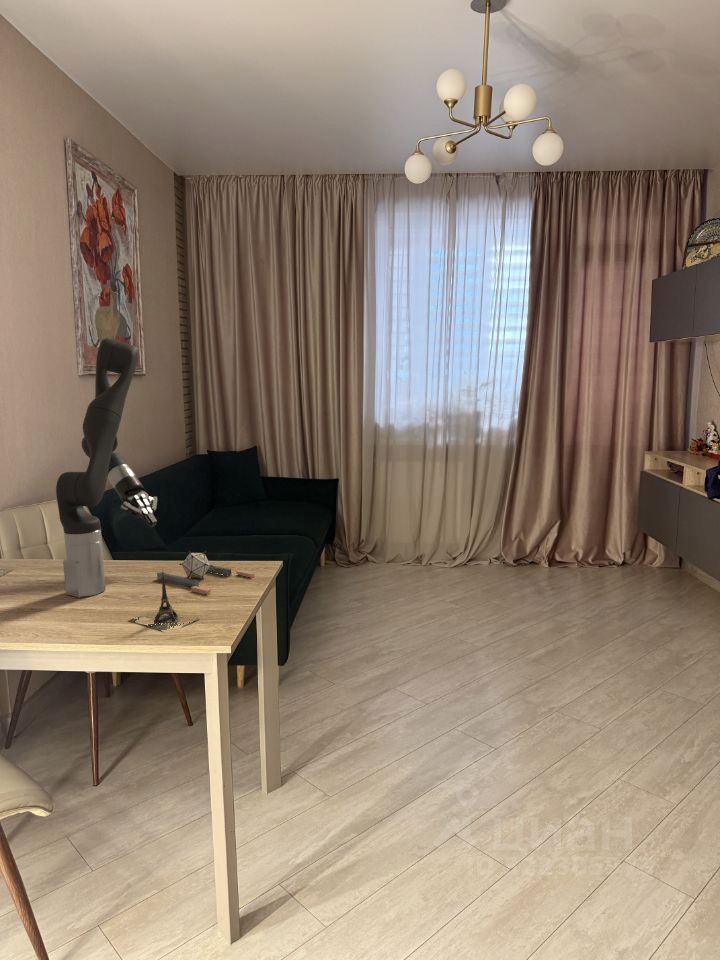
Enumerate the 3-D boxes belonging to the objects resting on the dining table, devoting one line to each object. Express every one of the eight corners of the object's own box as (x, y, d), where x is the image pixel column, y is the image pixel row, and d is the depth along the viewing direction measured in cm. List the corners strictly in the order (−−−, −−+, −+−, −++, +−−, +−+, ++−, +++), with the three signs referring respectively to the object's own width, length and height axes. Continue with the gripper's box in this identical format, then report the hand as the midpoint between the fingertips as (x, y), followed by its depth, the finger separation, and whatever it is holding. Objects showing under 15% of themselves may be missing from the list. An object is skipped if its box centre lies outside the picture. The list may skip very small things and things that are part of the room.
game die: (203, 588, 185) (222, 560, 187) (193, 587, 177) (213, 557, 178) (180, 572, 187) (199, 544, 189) (168, 570, 179) (188, 540, 180)
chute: (195, 588, 174) (195, 581, 174) (157, 579, 183) (156, 573, 182) (231, 575, 185) (231, 569, 185) (194, 567, 194) (193, 561, 194)
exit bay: (207, 595, 168) (206, 590, 168) (191, 591, 172) (191, 587, 171) (254, 577, 183) (254, 573, 183) (239, 574, 187) (239, 570, 187)
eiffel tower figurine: (126, 622, 151) (121, 569, 149) (160, 610, 159) (156, 558, 157) (168, 635, 142) (164, 578, 140) (201, 621, 151) (198, 567, 149)
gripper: (111, 477, 189) (140, 521, 184) (147, 471, 200) (176, 513, 195) (102, 493, 192) (130, 537, 188) (138, 487, 203) (166, 528, 198)
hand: (153, 524), depth 191 cm, fingers closed
